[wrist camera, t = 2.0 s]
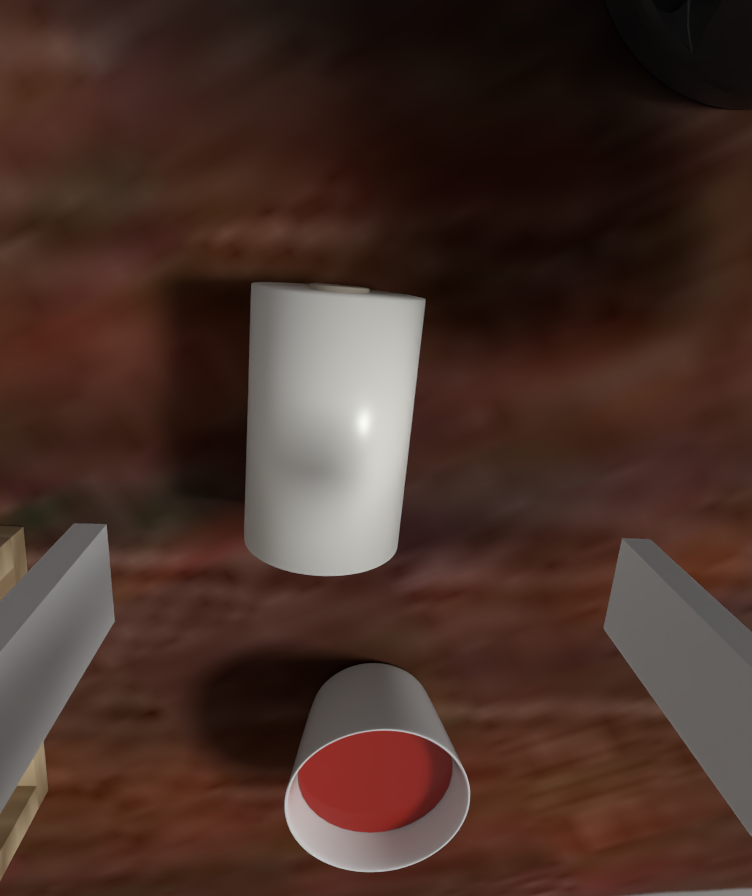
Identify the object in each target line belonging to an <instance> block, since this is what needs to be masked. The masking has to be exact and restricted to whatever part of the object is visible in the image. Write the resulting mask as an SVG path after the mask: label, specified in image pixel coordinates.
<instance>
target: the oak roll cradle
mask: <svg viewBox="0 0 752 896" xmlns="http://www.w3.org/2000/svg"><path fill="white" fill-rule="evenodd" d="M27 572H28V571H27V561H26V550H25V540H24V529H23V527H19V526H0V601H1V600H2V598H3V597H4V596H5V595H6V594H7V593H8V592H9V591H10V590H11V589H12V588H13V587H14V586H15V585H16V584H17V583H18V582H19V581H20V580H21V579H22V578H23V576H24V575H25V574H26V573H27ZM47 791H48V782H47V772H46V761H45V751H44V741H43V743H42V744H41V746H40V748H39V749H38V751H37V753H36V754H35V756H34V758H33V759H32V761H31V763H30V764H29V766H28V768H27V770H26V771H25V773H24V775H23V776H22V778H21V780H20V781H19V783H18V785H17V786H16V788H15V790H14V791H13V793H12V795H11V796H10V798H9V800H8V801H7V803H6V805H5V807H4V808H3V810H2V812H1V813H0V880H1V878H2V876H3V874H4V873H5V871H6V869H7V867H8V865H9V863H10V861H11V859H12V857H13V856H14V854H15V852H16V850H17V848H18V846H19V844H20V842H21V841H22V839H23V837H24V835H25V833H26V831H27V829H28V827H29V825H30V824H31V822H32V820H33V818H34V816H35V814H36V812H37V810H38V808H39V807H40V805H41V803H42V801H43V799H44V797H45V795H46V793H47Z"/></svg>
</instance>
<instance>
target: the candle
mask: <svg viewBox="0 0 752 896" xmlns="http://www.w3.org/2000/svg"><path fill="white" fill-rule="evenodd" d="M469 803H470V787H469V782H468V778H467V775H466V773H465V770H464V768H463V766H462V764H461V762H460V760H459V757H458V755H457V753H456V751H455V749H454V747H453V745H452V743H451V741H450V739H449V737H448V735H447V733H446V731H445V729H444V726H443V724H442V722H441V720H440V718H439V716H438V714H437V712H436V710H435V708H434V706H433V704H432V702H431V700H430V698H429V696H428V694H427V693H426V691H425V689H424V688H423V686H422V685H421V684H420V682H419V681H418V680H417V679H416V678H415V677H413V676H412V675H411V674H409V673H408V672H406V671H404V670H403V669H400V668H398V667H395V666H392V665H388V664H382V663H366V664H359V665H355V666H352V667H349V668H346V669H344V670H342V671H340V672H338V673H337V674H335V675H334V676H332V677H331V678H330V679H329V680H327V681H326V682H325V683H324V685H323V686H322V687H321V688H320V690H319V691H318V693H317V695H316V696H315V699H314V701H313V703H312V706H311V709H310V712H309V715H308V719H307V722H306V725H305V729H304V732H303V735H302V739H301V742H300V745H299V749H298V752H297V755H296V759H295V762H294V765H293V769H292V772H291V776H290V779H289V782H288V786H287V790H286V794H285V803H284V808H285V816H286V821H287V824H288V826H289V829H290V831H291V833H292V835H293V836H294V838H295V839H296V840H297V842H298V843H299V844H300V845H301V846H302V847H303V848H304V849H305V850H306V851H307V852H309V853H310V854H311V855H313V856H314V857H316V858H317V859H319V860H321V861H323V862H325V863H327V864H329V865H332V866H335V867H338V868H342V869H346V870H351V871H358V872H382V871H390V870H395V869H399V868H403V867H407V866H410V865H412V864H415V863H417V862H420V861H422V860H424V859H426V858H428V857H429V856H431V855H433V854H434V853H436V852H437V851H439V850H440V849H441V848H442V847H444V846H445V845H446V844H447V843H448V842H449V841H450V840H451V839H452V838H453V837H454V835H455V834H456V833H457V832H458V830H459V829H460V827H461V825H462V824H463V822H464V820H465V817H466V815H467V812H468V808H469Z"/></svg>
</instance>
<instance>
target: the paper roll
mask: <svg viewBox="0 0 752 896" xmlns="http://www.w3.org/2000/svg"><path fill="white" fill-rule="evenodd" d="M425 302H426V300H425V299H424V298H421V297H416V296H411V295H406V294H400V293H393V292H385V291H378V290H369V288H364V287H358V286H350V285H340V284H327V283H310V284H302V283H284V282H255V283H251V309H250V344H249V379H248V415H247V450H246V485H245V520H244V541H245V544H246V546H247V548H248V550H249V551H250V552H251V553H252V554H253V555H254V556H256V557H257V558H258V559H260V560H262V561H263V562H265V563H267V564H269V565H272V566H274V567H277V568H280V569H283V570H286V571H290V572H294V573H300V574H306V575H315V576H341V575H350V574H356V573H361V572H364V571H368V570H371V569H374V568H376V567H378V566H380V565H382V564H384V563H386V562H387V561H388V560H390V559H391V558H392V557H393V555H394V554H395V552H396V550H397V546H398V537H399V529H400V520H401V511H402V502H403V494H404V485H405V476H406V468H407V459H408V450H409V441H410V433H411V424H412V415H413V407H414V398H415V389H416V380H417V372H418V363H419V354H420V346H421V337H422V328H423V319H424V311H425Z"/></svg>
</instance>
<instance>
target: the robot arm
mask: <svg viewBox="0 0 752 896" xmlns="http://www.w3.org/2000/svg"><path fill="white" fill-rule="evenodd" d="M604 1H605V3H606V6H607V8H608V11H609V13H610V16H611V18H612V20H613V22H614V24H615V26H616V28H617V30H618V31H619V33H620V35H621V37H622V38H623V40H624V41H625V43H626V44H627V46H628V47H629V49H630V50H631V52H632V53H633V54H634V55H635V57H636V58H637V59H638V60H639V61H640V62H641V64H642V65H643V66H644V67H645V68H646V69H647V70H648V71H649V72H650V73H652V74H653V75H654V76H655V77H656V78H657V79H658V80H660V81H661V82H662V83H664V84H665V85H667V86H668V87H669V88H671V89H673V90H674V91H676V92H678V93H679V94H682V95H684V96H686V97H688V98H690V99H692V100H695V101H698V102H700V103H703V104H707V105H711V106H715V107H721V108H727V109H752V0H604ZM114 621H115V620H114V608H113V596H112V584H111V572H110V560H109V548H108V536H107V524H73V525H72V526H71V527H70V528H69V529H68V530H67V531H66V533H65V534H64V535H63V536H62V537H61V538H60V539H59V540H58V541H57V542H56V543H55V544H54V545H53V546H52V547H51V548H50V549H49V550H48V551H47V552H46V553H45V555H44V556H43V557H42V558H41V559H40V560H39V561H38V562H37V563H36V564H35V565H34V566H33V567H32V568H31V569H30V570H29V571H28V572H27V573H26V574H25V575H24V576H23V578H22V579H21V580H20V581H19V582H18V583H17V584H16V585H15V586H14V587H13V588H12V589H11V590H10V591H9V592H8V593H7V594H6V595H5V596H4V597H3V598H2V600H1V601H0V813H1V812H2V810H3V808H4V807H5V805H6V803H7V801H8V800H9V798H10V796H11V795H12V793H13V791H14V790H15V788H16V786H17V785H18V783H19V781H20V780H21V778H22V776H23V775H24V773H25V771H26V770H27V768H28V766H29V764H30V763H31V761H32V759H33V758H34V756H35V754H36V753H37V751H38V749H39V748H40V746H41V744H42V743H43V741H44V739H45V738H46V736H47V734H48V732H49V731H50V729H51V727H52V726H53V724H54V722H55V721H56V719H57V717H58V716H59V714H60V712H61V711H62V709H63V707H64V706H65V704H66V702H67V701H68V699H69V697H70V695H71V694H72V692H73V690H74V689H75V687H76V685H77V684H78V682H79V680H80V679H81V677H82V675H83V674H84V672H85V670H86V669H87V667H88V665H89V664H90V662H91V660H92V658H93V657H94V655H95V653H96V652H97V650H98V648H99V647H100V645H101V643H102V642H103V640H104V638H105V637H106V635H107V633H108V632H109V630H110V628H111V626H112V625H113V623H114ZM603 629H604V630H605V631H606V633H607V634H608V636H609V637H610V638H611V640H612V641H613V643H614V644H615V645H616V647H617V648H618V650H619V651H620V652H621V654H622V655H623V657H624V658H625V659H626V661H627V662H628V664H629V665H630V667H631V668H632V669H633V671H634V672H635V674H636V675H637V676H638V678H639V679H640V681H641V682H642V683H643V685H644V686H645V688H646V689H647V690H648V692H649V693H650V695H651V696H652V697H653V699H654V700H655V702H656V703H657V705H658V706H659V707H660V709H661V710H662V712H663V713H664V714H665V716H666V717H667V719H668V720H669V721H670V723H671V724H672V726H673V727H674V728H675V730H676V731H677V733H678V734H679V735H680V737H681V738H682V740H683V741H684V743H685V744H686V745H687V747H688V748H689V750H690V751H691V752H692V754H693V755H694V757H695V758H696V759H697V761H698V762H699V764H700V765H701V766H702V768H703V769H704V771H705V772H706V773H707V775H708V776H709V778H710V779H711V781H712V782H713V783H714V785H715V786H716V788H717V789H718V790H719V792H720V793H721V795H722V796H723V797H724V799H725V800H726V802H727V803H728V804H729V806H730V807H731V809H732V810H733V811H734V813H735V814H736V816H737V817H738V819H739V820H740V821H741V823H742V824H743V826H744V827H745V828H746V830H747V831H748V833H749V834H750V835H751V837H752V632H751V631H750V630H749V629H747V628H746V627H745V626H744V625H743V624H742V623H741V622H740V621H739V620H738V619H737V618H735V617H734V616H733V615H732V614H731V613H730V612H729V611H728V610H727V609H726V608H725V607H723V606H722V605H721V604H720V603H719V602H718V601H717V600H716V599H715V598H714V597H713V596H711V595H710V594H709V593H708V592H707V591H706V590H705V589H704V588H703V587H702V586H701V585H699V584H698V583H697V582H696V581H695V580H694V579H693V578H692V577H691V576H690V575H689V574H687V573H686V572H685V571H684V570H683V569H682V568H681V567H680V566H679V565H678V564H677V563H675V562H674V561H673V560H672V559H671V558H670V557H669V556H668V555H667V554H666V553H665V552H663V551H662V550H661V549H660V548H659V547H658V546H657V545H656V544H655V543H654V542H653V541H651V540H650V539H622V542H621V547H620V551H619V556H618V561H617V566H616V571H615V576H614V580H613V585H612V590H611V595H610V600H609V604H608V609H607V614H606V619H605V624H604V628H603Z"/></svg>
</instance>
